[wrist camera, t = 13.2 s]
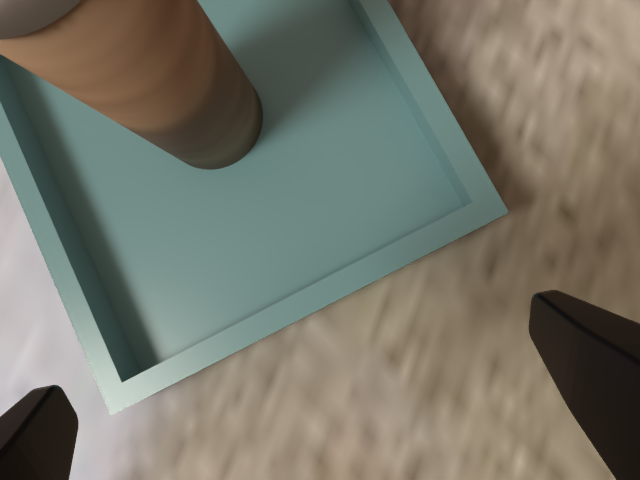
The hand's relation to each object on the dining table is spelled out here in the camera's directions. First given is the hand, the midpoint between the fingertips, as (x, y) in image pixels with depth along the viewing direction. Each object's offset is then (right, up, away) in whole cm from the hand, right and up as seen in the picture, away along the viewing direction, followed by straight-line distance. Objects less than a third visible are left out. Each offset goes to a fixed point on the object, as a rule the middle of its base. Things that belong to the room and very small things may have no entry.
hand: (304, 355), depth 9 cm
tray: (-5, +8, +13) cm, 16 cm away
